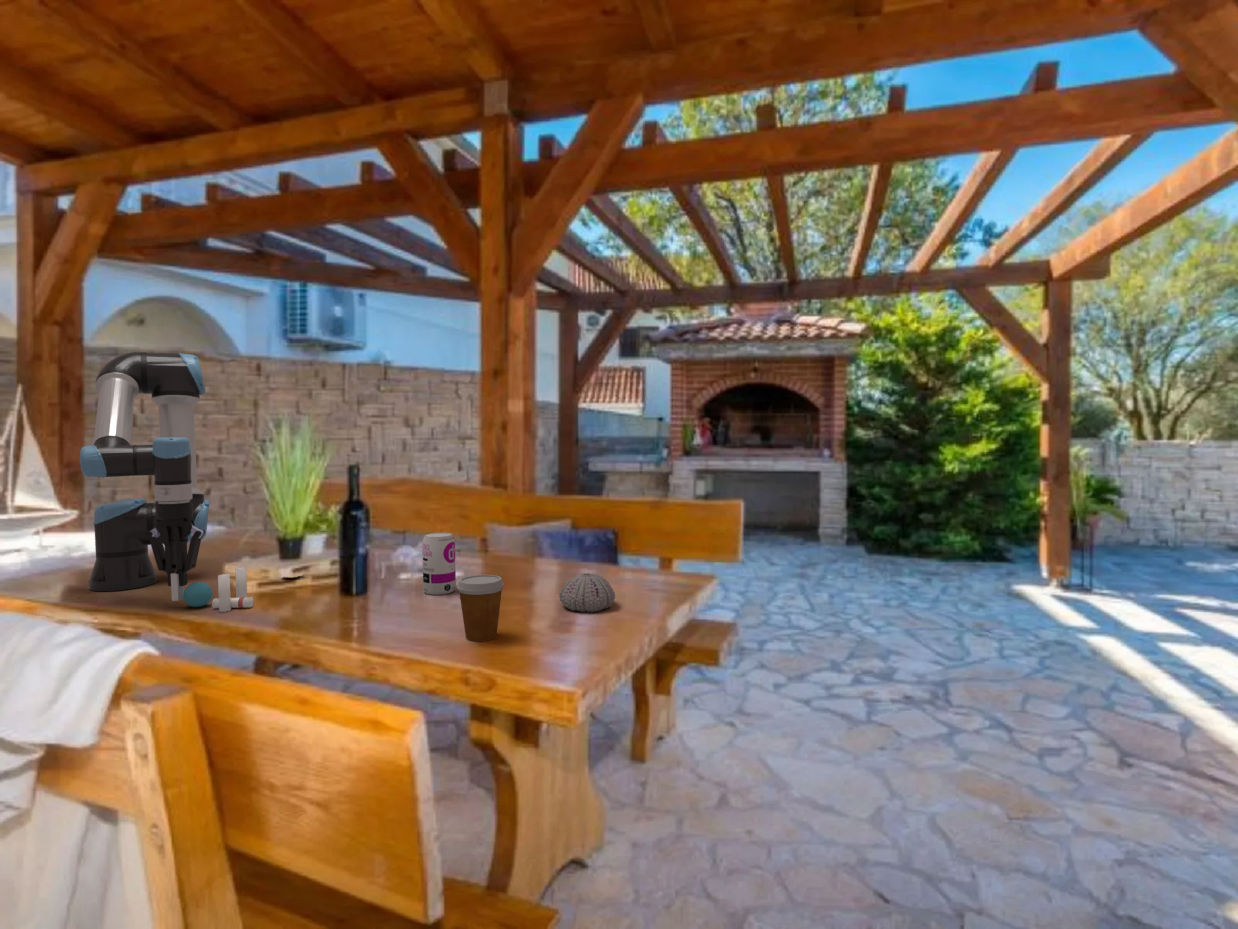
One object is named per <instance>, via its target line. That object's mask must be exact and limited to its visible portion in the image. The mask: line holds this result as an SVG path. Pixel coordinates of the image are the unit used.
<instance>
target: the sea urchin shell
mask: <svg viewBox="0 0 1238 929" xmlns="http://www.w3.org/2000/svg"><path fill="white" fill-rule="evenodd" d="M558 598H559V601H560V602H561V604H562V606H563V605H564V607H565V608H566V609H568V610H570V611H573V612H580V613H581V612H582V613H584V612H588V613H593V612H599V611H602V610H605V609H609V607H611V606H612V605H613V604H614V602H615V599H616V593H615V591H614V588H613V587H612V585H611V584H610V583H609V581H608V580H607V578H604V577H603V576H602V575H600V574H598V573H589V572H587V573H585V572H583V573H580V574H578V575H574V576H573V577H571V578H570V579H569V580H567V582H566V583H565V584H564V585H563V586H562V589H560V592H559V597H558Z"/></svg>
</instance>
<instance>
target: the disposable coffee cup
mask: <svg viewBox="0 0 1238 929" xmlns="http://www.w3.org/2000/svg"><path fill="white" fill-rule="evenodd" d="M504 586H505V584H504V582H503V578H502V577H501V576H499V575H494V574H475V575H469V576H468V575H467V576H464V577H461V578H460V579H458V584H456V589H457V591H458V592H459V599H460V606H461V612H462V613H461V614H462V620H463V627H464V634H465V638H466V639H467V640H468V641H471V642H485V641H492V640H493V639H495V638H496V637H497V636H498V629H499V628H498V627H499V618H500V609H501V601H502V600H501V599H502V591H503V589H504Z"/></svg>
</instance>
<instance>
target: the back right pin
mask: <svg viewBox="0 0 1238 929" xmlns="http://www.w3.org/2000/svg"><path fill="white" fill-rule="evenodd" d="M230 576H231V575H230V574H229V573H223V574H222V573H221V574H218V575H217V582H218V583H217V587H218V590H217V591H218V598H219V608H218V612H219V613H227V611H228V612H230V610H232V608H231V599H230V598H231V583H230V582H231V580H230V579H231V578H230Z"/></svg>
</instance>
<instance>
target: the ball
mask: <svg viewBox="0 0 1238 929" xmlns="http://www.w3.org/2000/svg"><path fill="white" fill-rule="evenodd" d="M212 597H213V590H212V587H211V586H210V585H209V584H208V583H206V582H203V581H195V582H192V583H191V584H188V586H186V588H184V594H183V600H184V602H185V604H186V605H187V606H189V607H192V608H201V607H205V606H206V605H207V604H208V603H209V602H211V600H212Z"/></svg>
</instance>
